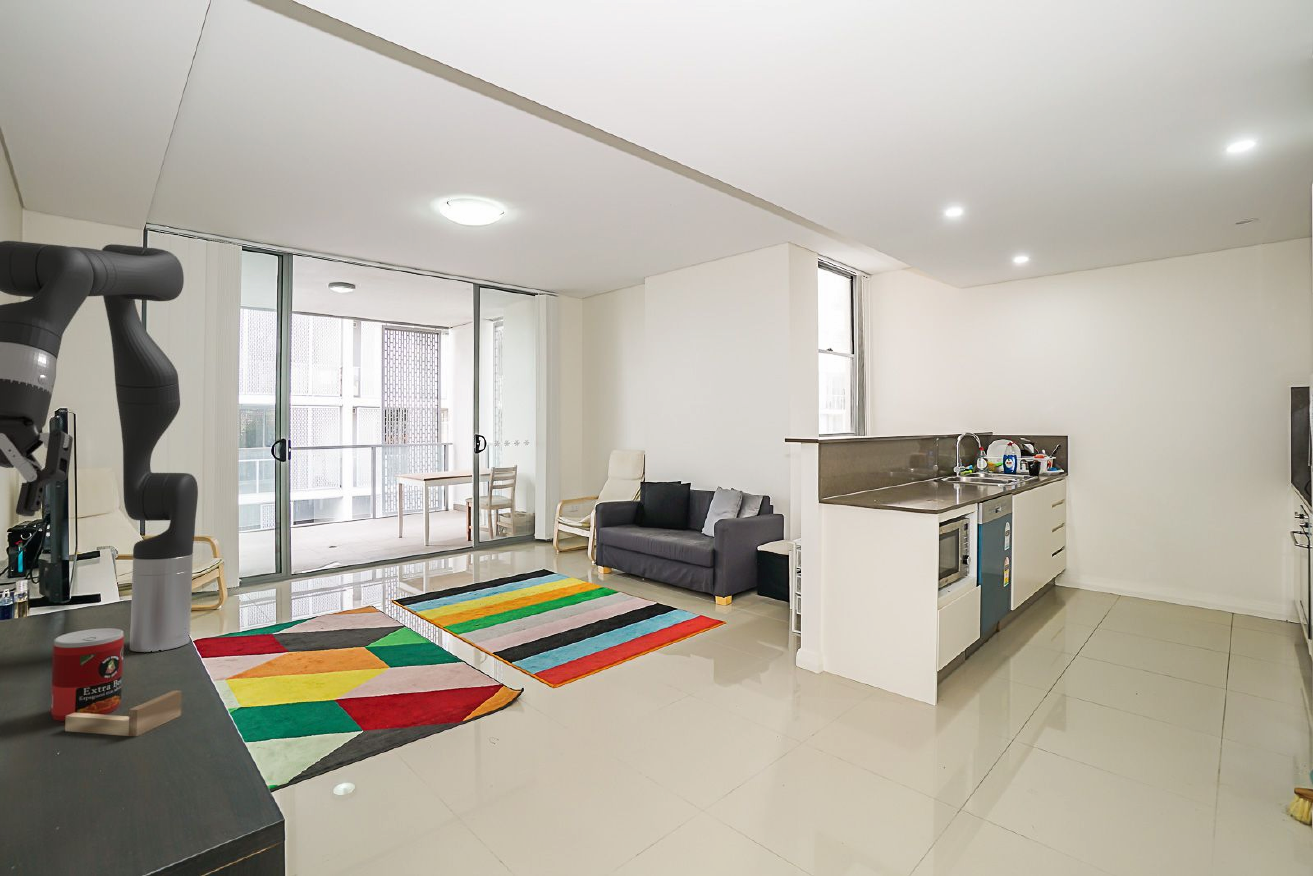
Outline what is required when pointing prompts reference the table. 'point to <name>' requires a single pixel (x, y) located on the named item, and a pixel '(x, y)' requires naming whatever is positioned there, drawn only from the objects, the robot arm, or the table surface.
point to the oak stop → (129, 718)
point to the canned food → (87, 672)
